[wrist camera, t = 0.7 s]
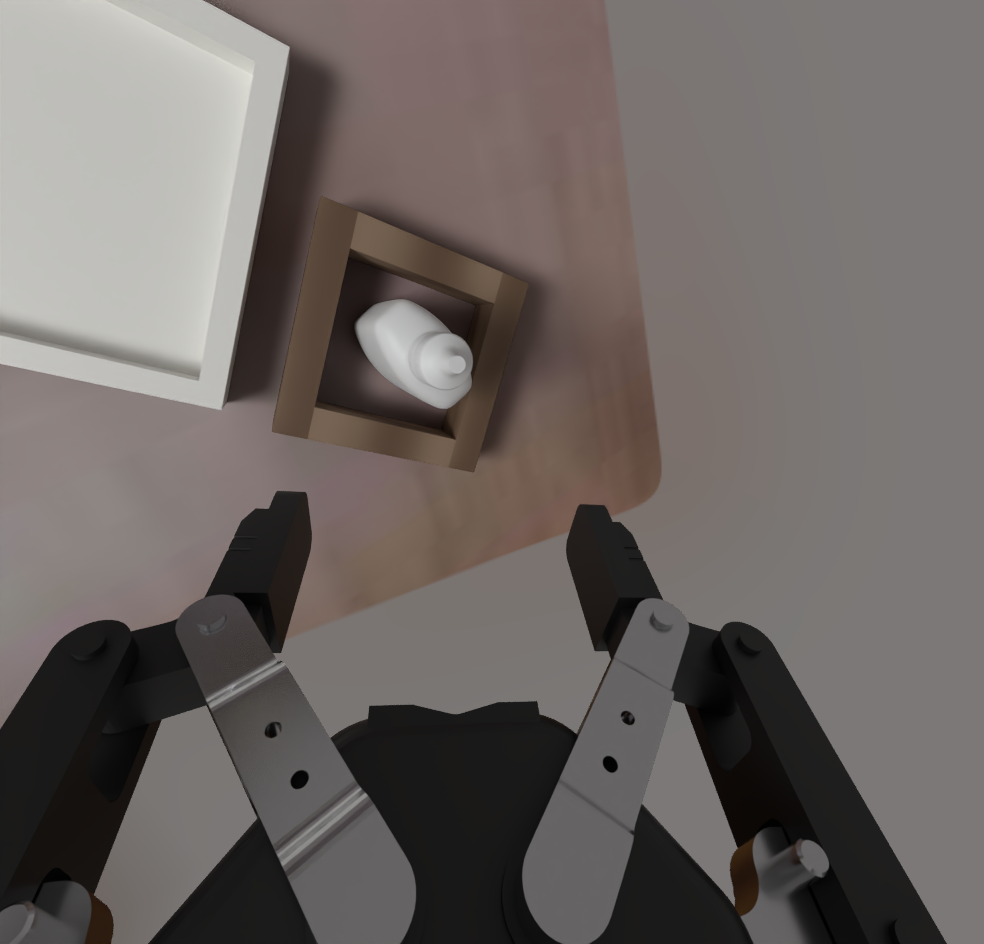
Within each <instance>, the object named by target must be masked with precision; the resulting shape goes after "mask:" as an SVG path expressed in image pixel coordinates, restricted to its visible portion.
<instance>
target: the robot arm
mask: <svg viewBox="0 0 984 944" xmlns="http://www.w3.org/2000/svg"><path fill="white" fill-rule="evenodd" d="M311 541H312V531H311V523H310V514H309V506H308V498H307V494H306V492H290V491H277V492H276V493H275V496H274V498H273V500H272V503H271V505H270V507H269V509H255V510H253V511H252V512H251V513H250V514H249V515H248V516H247V517H245V518H244V519H243V520H242V521H241V523H240V525H239V527H238V529H237V531H236V533H235V536H234V539H233V540H232V542H231V544H230V546H229V550H228V551H227V552H226V554H225V556H224V559H223V561H222V563H221V565H220V567H219V569H218V571H217V573H216V575H215V577H214V579H213V581H212V584H211V586H210V588H209V590H208V592H207V594H206V596H205V597H204V598H203V599H200V600H198V601H197V602H195V603H193V604H192V605H190V606H189V607H188V608H187V609H185V610H184V612H183V613H182V614H181V615H180V617H179V618H178V619H176V620H173V621H171V622H167V623H164V624H160V625H156V626H152V627H148V628H144V629H139V630H135V631H130V629H129V628H128V626H127V625H125V624H124V623H122V622H119V621H115V620H102V621H96V622H92V623H89V624H86V625H84V626H81V627H79V628H77V629H75V630H73V631H72V632H70V633H69V634H67V635H66V636H64V637H63V638H62V639H61V640H60V641H59V642H58V643H57V644H56V645H55V646H54V647H53V649H52V650H51V651H50V653H49V654H48V656H47V658H46V659H45V661H44V662H43V664H42V665H41V667H40V668H39V670H38V672H37V673H36V675H35V676H34V678H33V679H32V681H31V682H30V684H29V686H28V687H27V689H26V690H25V692H24V693H23V695H22V696H21V698H20V700H19V701H18V703H17V704H16V706H15V707H14V709H13V710H12V712H11V714H10V715H9V717H8V718H7V720H6V721H5V723H4V724H3V726H2V728H1V729H0V944H111V941H112V937H113V929H114V923H113V916H112V913H111V911H110V909H109V908H108V906H107V905H106V904H105V903H103V902H102V901H101V900H100V899H98V898H97V897H96V896H94V893H95V890H96V888H97V885H98V882H99V880H100V877H101V875H102V872H103V870H104V867H105V864H106V862H107V859H108V857H109V854H110V851H111V849H112V846H113V844H114V841H115V839H116V836H117V833H118V831H119V828H120V826H121V823H122V820H123V818H124V815H125V813H126V810H127V808H128V805H129V803H130V800H131V797H132V795H133V792H134V790H135V787H136V784H137V782H138V779H139V777H140V774H141V771H142V769H143V766H144V764H145V761H146V758H147V756H148V754H149V751H150V748H151V746H152V743H153V741H154V738H155V736H156V733H157V730H158V728H159V725H160V723H161V720H162V719H164V718H167V717H171V716H174V715H177V714H180V713H183V712H186V711H190V710H193V709H196V708H199V707H202V706H205V705H207V707H208V709H209V712H210V714H211V716H212V718H213V721H214V723H215V725H216V727H217V730H218V732H219V734H220V736H221V738H222V741H223V743H224V745H225V747H226V749H227V752H228V754H229V756H230V758H231V760H232V763H233V765H234V767H235V770H236V772H237V774H238V776H239V778H240V781H241V783H242V785H243V788H244V790H245V792H246V794H247V797H248V799H249V801H250V803H251V806H252V808H253V810H254V812H255V814H256V816H257V820H256V821H255V822H254V823H253V824H252V825H251V826H250V827H249V829H248V830H247V831H246V832H245V833H244V834H243V836H242V837H241V838H240V839H239V840H238V841H237V842H236V844H235V845H234V846H233V847H232V848H231V849H230V850H229V852H228V853H227V854H226V855H225V856H224V857H223V858H222V860H221V861H220V862H219V863H218V864H217V865H216V866H215V868H214V869H213V870H212V871H211V872H210V873H209V874H208V876H207V877H206V878H205V879H204V880H203V881H202V882H201V884H200V885H199V886H198V887H197V888H196V889H195V890H194V892H193V893H192V894H191V895H190V896H189V897H188V899H187V900H186V901H185V902H184V903H183V904H182V905H181V907H180V908H179V909H178V910H177V911H176V912H175V913H174V915H173V916H172V917H171V918H170V919H169V920H168V921H167V923H166V924H165V925H164V926H163V927H162V928H161V929H160V931H159V932H158V933H157V934H156V935H155V936H154V938H153V939H152V940H151V941H150V942H149V943H148V944H947V943H946V942H945V940H944V938H943V936H942V935H941V933H940V931H939V930H938V928H937V926H936V925H935V923H934V921H933V919H932V918H931V916H930V914H929V912H928V911H927V909H926V907H925V905H924V904H923V902H922V900H921V899H920V897H919V895H918V893H917V892H916V890H915V888H914V887H913V885H912V883H911V881H910V880H909V878H908V876H907V874H906V873H905V871H904V869H903V868H902V866H901V864H900V862H899V861H898V859H897V857H896V856H895V854H894V852H893V850H892V849H891V847H890V845H889V843H888V842H887V840H886V838H885V836H884V835H883V833H882V831H881V830H880V828H879V826H878V824H877V823H876V821H875V819H874V817H873V816H872V814H871V812H870V811H869V809H868V807H867V806H866V804H865V802H864V800H863V799H862V797H861V795H860V793H859V792H858V790H857V788H856V786H855V785H854V783H853V781H852V780H851V778H850V776H849V774H848V773H847V771H846V770H845V768H844V766H843V764H842V762H841V761H840V759H839V757H838V755H837V754H836V752H835V750H834V749H833V747H832V745H831V743H830V742H829V740H828V738H827V736H826V735H825V733H824V731H823V730H822V728H821V726H820V725H819V723H818V721H817V719H816V718H815V716H814V714H813V712H812V711H811V709H810V707H809V705H808V704H807V702H806V701H805V699H804V697H803V695H802V694H801V692H800V690H799V688H798V687H797V685H796V683H795V681H794V680H793V678H792V676H791V675H790V673H789V671H788V669H787V668H786V666H785V664H784V662H783V661H782V659H781V657H780V656H779V654H778V652H777V650H776V649H775V647H774V645H773V644H772V642H771V641H770V640H769V639H768V638H767V637H766V636H765V635H764V634H763V633H762V632H761V631H759V630H758V629H756V628H754V627H752V626H751V625H748V624H745V623H742V622H730V623H727V624H725V625H724V626H723V628H722V629H721V631H720V632H719V631H716V630H712V629H708V628H705V627H702V626H698V625H695V624H692V623H689V622H688V621H687V620H686V618H685V616H684V615H683V614H682V612H681V611H680V610H679V609H678V608H676V607H675V606H674V605H672V604H670V603H669V602H666V601H664V600H663V598H662V596H661V594H660V592H659V590H658V588H657V586H656V584H655V582H654V579H653V577H652V575H651V573H650V571H649V569H648V567H647V565H646V563H645V561H643V557H642V554H641V552H640V550H638V546H637V544H636V542H635V539H634V537H633V535H632V534H631V533H630V532H629V531H628V530H627V529H626V528H625V527H624V526H623V525H622V524H621V523H620V522H612V519H611V517H610V515H609V513H608V510H607V508H606V507H605V506H604V505H586V504H580V505H579V506H578V508H577V510H576V514H575V517H574V520H573V523H572V526H571V530H570V533H569V536H568V539H567V546H566V554H567V560H568V563H569V567H570V570H571V573H572V577H573V580H574V583H575V586H576V590H577V593H578V597H579V600H580V603H581V607H582V610H583V613H584V617H585V620H586V624H587V627H588V630H589V634H590V637H591V640H592V644H593V647H594V650H595V651H609V654H610V658H611V661H610V663H609V665H608V667H607V669H606V671H605V673H604V676H603V678H602V680H601V682H600V684H599V686H598V689H597V691H596V693H595V695H594V697H593V699H592V702H591V704H590V706H589V708H588V710H587V712H586V715H585V717H584V719H583V721H582V723H581V725H580V727H579V729H578V732H577V734H576V733H574V732H573V731H572V730H571V729H569V728H568V727H566V726H565V725H563V724H562V723H560V722H558V721H556V720H554V719H551V718H549V717H546V716H543V715H540V714H539V710H538V703H537V701H536V702H535V701H534V702H498V703H494V704H491V705H488V706H484V707H481V708H478V709H475V710H472V711H468V712H465V713H461V714H449V713H445V712H441V711H436V710H432V709H428V708H424V707H420V706H415V705H386V706H385V705H384V706H369V716H368V719H366V720H363V721H360V722H358V723H355V724H353V725H351V726H348V727H347V728H345V729H343V730H341V731H340V732H338V733H337V734H335V735H334V736H333V737H331V738H330V737H329V736H328V734H327V732H326V731H325V729H324V727H323V726H322V724H321V722H320V721H319V719H318V717H317V716H316V714H315V712H314V711H313V709H312V707H311V706H310V704H309V702H308V701H307V699H306V697H305V696H304V694H303V693H302V691H301V689H300V688H299V686H298V684H297V683H296V681H295V679H294V678H293V676H292V674H291V673H290V671H289V669H288V668H287V667H286V665H285V664H284V663H283V662H282V661H280V662H278V660H277V659H276V658H275V656H274V654H273V653H281V651H282V648H283V644H284V641H285V637H286V634H287V631H288V627H289V624H290V620H291V617H292V613H293V610H294V606H295V603H296V599H297V596H298V592H299V589H300V585H301V582H302V578H303V575H304V571H305V568H306V564H307V561H308V557H309V554H310V549H311ZM673 700H675V701H678V702H681V703H684V704H685V706H686V709H687V712H688V714H689V717H690V720H691V723H692V725H693V728H694V730H695V734H696V736H697V739H698V742H699V744H700V747H701V750H702V753H703V755H704V758H705V761H706V763H707V766H708V769H709V772H710V774H711V777H712V779H713V782H714V785H715V788H716V791H717V793H718V796H719V799H720V801H721V804H722V807H723V810H724V812H725V815H726V818H727V820H728V823H729V826H730V829H731V831H732V834H733V837H734V839H735V842H736V845H737V847H738V849H737V850H736V851H735V852H734V854H733V856H732V858H731V862H730V876H731V880H732V885H733V893H734V897H735V907H734V906H733V904H732V903H731V901H730V900H729V899H728V897H727V896H726V895H725V894H724V892H723V891H722V890H721V889H720V888H719V887H718V886H717V885H716V884H715V883H714V881H713V880H712V879H711V878H710V877H709V876H708V875H707V874H706V873H705V872H704V870H703V869H702V868H701V867H700V866H699V865H698V864H697V863H696V862H695V861H694V860H693V859H692V858H691V856H690V855H689V854H688V853H687V852H686V851H685V850H684V849H683V848H682V847H681V846H680V844H678V842H677V841H676V840H675V839H674V838H673V837H672V836H671V835H670V834H669V833H668V831H667V830H666V829H665V828H664V827H663V826H662V825H661V824H660V823H659V822H658V821H657V820H656V818H655V817H654V816H653V815H652V814H651V813H650V812H649V811H648V810H647V809H646V808H645V807H644V805H642V800H643V797H644V794H645V791H646V787H647V784H648V781H649V777H650V774H651V771H652V767H653V764H654V761H655V758H656V754H657V751H658V748H659V744H660V741H661V738H662V734H663V731H664V728H665V725H666V721H667V718H668V715H669V711H670V708H671V705H672V701H673Z"/></svg>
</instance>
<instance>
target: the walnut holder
mask: <svg viewBox="0 0 984 944" xmlns="http://www.w3.org/2000/svg"><path fill="white" fill-rule="evenodd" d="M348 257H349V258H352V259H354V260H357V261H360V262H362V263H365V264H368V265H370V266H373V267H376V268H378V269H381V270H384V271H386V272H389V273H392V274H394V275H397V276H400V277H402V278H405V279H408V280H410V281H413V282H416V283H418V284H421V285H424V286H426V287H429V288H432V289H434V290H437V291H440V292H442V293H445V294H447V295H450V296H453V297H455V298H458V299H461V300H463V301H466V302H469V303H471V304H474V305H476V308H475V311H474V315H473V319H472V322H471V326H470V329H469V333H468V337H467V340H466V343H467V345H468V346H469V348H470V350H471V353H472V356H473V357H472V358H473V360H472V361H473V363H472V364H473V366H472V369H471V370H472V371H471V378H472V385H471V388H470V390H469V391H468V392H467V394H466V395H465V396H464V397H463V398H461V399H460V400H459V401H458V402H457V403H456V404H455V405H453V406H452V407H450V408H448V410H447V413H446V417H445V421H444V424H443V428H442V430H439V429H435V428H430V427H426V426H422V425H418V424H414V423H409V422H405V421H401V420H397V419H392V418H388V417H384V416H380V415H376V414H371V413H367V412H363V411H359V410H354V409H350V408H346V407H342V406H338V405H333V404H329V403H325V402H321V401H316V399H317V394H318V390H319V385H320V381H321V376H322V372H323V367H324V363H325V358H326V354H327V349H328V345H329V341H330V336H331V332H332V327H333V323H334V318H335V314H336V309H337V305H338V300H339V296H340V291H341V287H342V282H343V278H344V273H345V269H346V264H347V260H348ZM528 286H529V283H527V282H524V281H522V280H519V279H517V278H515V277H512V276H510V275H508V274H505V273H503V272H501V271H498V270H496V269H493V268H491V267H489V266H486V265H484V264H482V263H479V262H477V261H474V260H472V259H470V258H467V257H465V256H463V255H460V254H458V253H456V252H453V251H451V250H448V249H446V248H444V247H441V246H439V245H437V244H434V243H432V242H429V241H427V240H425V239H422V238H420V237H418V236H415V235H413V234H411V233H408V232H406V231H403V230H401V229H399V228H396V227H394V226H392V225H389V224H387V223H385V222H382V221H380V220H377V219H375V218H373V217H370V216H368V215H366V214H363V213H361V212H358V211H356V210H354V209H351V208H349V207H347V206H344V205H342V204H340V203H337V202H335V201H332V200H330V199H328V198H325V197H323V196H321V198H320V202H319V205H318V208H317V213H316V218H315V223H314V228H313V232H312V237H311V242H310V247H309V251H308V256H307V261H306V266H305V271H304V275H303V280H302V285H301V290H300V295H299V299H298V304H297V309H296V314H295V319H294V323H293V328H292V333H291V338H290V343H289V347H288V352H287V357H286V362H285V367H284V371H283V376H282V381H281V386H280V391H279V395H278V400H277V405H276V410H275V414H274V419H273V426H272V432H275V433H280V434H285V435H290V436H295V437H300V438H305V439H310V440H315V441H320V442H325V443H330V444H335V445H339V446H344V447H349V448H354V449H359V450H364V451H369V452H374V453H379V454H384V455H389V456H394V457H399V458H404V459H409V460H414V461H419V462H424V463H429V464H434V465H439V466H444V467H449V468H454V469H459V470H464V471H469V472H474V471H475V468H476V464H477V461H478V457H479V454H480V450H481V447H482V444H483V440H484V437H485V433H486V430H487V426H488V423H489V420H490V416H491V413H492V409H493V406H494V402H495V399H496V396H497V392H498V389H499V385H500V382H501V378H502V375H503V372H504V368H505V365H506V361H507V358H508V354H509V351H510V347H511V344H512V341H513V337H514V334H515V330H516V327H517V323H518V320H519V317H520V313H521V310H522V306H523V303H524V299H525V296H526V293H527V289H528Z"/></svg>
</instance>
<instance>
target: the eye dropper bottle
mask: <svg viewBox="0 0 984 944" xmlns="http://www.w3.org/2000/svg"><path fill="white" fill-rule="evenodd" d="M354 330H355V333H356V336H357V339H358V341H359V343H360V346H361V348H362V349H363V351H364V353H365V355H366V356H367V358H368V359H369V361H370V362H371V363H372V365H373V366H374V367H375V368H376V369H377V370H378V371H379V372H380V373H381V374H382V375H383V376H384V377H385V378H386V379H387V380H389V381H390V382H391V383H393V384H394V385H396V386H397V387H399V388H401V389H403V390H404V391H406V392H408V393H410V394H411V395H413V396H415V397H417V398H419V399H420V400H422V401H424V402H426V403H428V404H430V405H432V406H434V407H437V408H440V409H448V408H450V407H452V406H453V405H455V404H456V403H457V402H458V401H459V400H460V399H461V398H463V397H464V396H465V395H466V394H467V392H468V391H469V390H470V388H471V385H472V378H471V371H472V370H471V369H472V366H473V364H472V363H473V361H472V360H473V358H472V357H473V356H472V353H471V350H470V348H469V346H468V345H467V343H466V342H465V340H463V338H461V337H458V335H455V334H453V333H451V332H450V330H449V329H448V328H447V327H446V326H445V325H444V324H443V323H442V322H441V321H440V320H439V319H438V318H436V317H435V316H434V315H433V314H431V313H430V312H429V311H427V310H426V309H424V308H423V307H421V306H419V305H418V304H416V303H414V302H411V301H409V300H405V299H396V300H390V301H385V302H380V303H377V304H374V305H373V306H371V307H370V308H369V309H368V310H367V311H365V312H364V313H363V314H362V315H361V316H360V317H359V318H358V319H357V320H356V322H355V323H354Z"/></svg>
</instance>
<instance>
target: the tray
mask: <svg viewBox="0 0 984 944" xmlns="http://www.w3.org/2000/svg"><path fill="white" fill-rule="evenodd" d="M289 56H290V47H289V46H287V45H285V44H283V43H281V42H279V41H277V40H276V39H274V38H272V37H270V36H268V35H266V34H264V33H263V32H261V31H259V30H257V29H255V28H253V27H252V26H250V25H248V24H246V23H244V22H242V21H240V20H239V19H237V18H235V17H233V16H231V15H229V14H227V13H226V12H224V11H222V10H220V9H218V8H216V7H215V6H213V5H211V4H209V3H207V2H205V1H203V0H0V364H5V365H9V366H14V367H19V368H24V369H28V370H33V371H38V372H43V373H47V374H52V375H57V376H62V377H66V378H71V379H76V380H81V381H85V382H90V383H95V384H100V385H104V386H109V387H114V388H119V389H123V390H128V391H133V392H138V393H142V394H147V395H152V396H157V397H162V398H166V399H171V400H176V401H181V402H185V403H190V404H195V405H200V406H204V407H209V408H214V409H219V410H222V409H223V407H224V406H225V404H226V403H227V398H228V393H229V388H230V382H231V377H232V372H233V366H234V361H235V356H236V351H237V345H238V340H239V335H240V330H241V324H242V319H243V314H244V308H245V303H246V298H247V293H248V287H249V282H250V277H251V271H252V266H253V261H254V256H255V250H256V245H257V240H258V235H259V229H260V224H261V219H262V213H263V208H264V203H265V198H266V192H267V187H268V182H269V176H270V171H271V166H272V161H273V155H274V150H275V145H276V140H277V134H278V129H279V124H280V118H281V113H282V108H283V103H284V97H285V92H286V87H287V81H288V76H289Z"/></svg>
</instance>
